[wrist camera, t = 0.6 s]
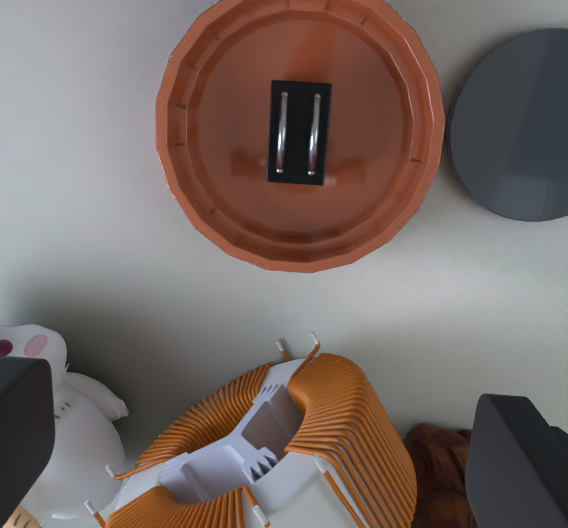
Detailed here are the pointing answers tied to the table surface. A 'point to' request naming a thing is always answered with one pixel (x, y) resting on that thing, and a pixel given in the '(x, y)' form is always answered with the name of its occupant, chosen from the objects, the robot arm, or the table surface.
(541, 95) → the plate
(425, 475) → the wooden figurine
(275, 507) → the coil
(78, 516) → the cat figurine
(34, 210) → the table surface
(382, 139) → the bowl
